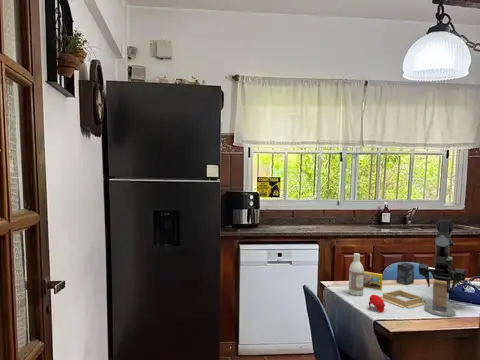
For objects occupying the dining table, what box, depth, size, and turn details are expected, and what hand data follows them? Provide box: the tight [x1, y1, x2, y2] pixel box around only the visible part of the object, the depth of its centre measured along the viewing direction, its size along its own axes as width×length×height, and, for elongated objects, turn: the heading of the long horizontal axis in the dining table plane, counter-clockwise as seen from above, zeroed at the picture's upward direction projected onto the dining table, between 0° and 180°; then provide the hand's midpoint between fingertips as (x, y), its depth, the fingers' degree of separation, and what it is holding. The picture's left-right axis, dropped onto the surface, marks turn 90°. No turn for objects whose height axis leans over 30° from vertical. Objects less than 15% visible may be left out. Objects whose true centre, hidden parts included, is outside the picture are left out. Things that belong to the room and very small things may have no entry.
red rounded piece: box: [368, 294, 386, 314], centre depth 157 cm, size 8×6×6 cm
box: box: [396, 262, 415, 286], centre depth 198 cm, size 8×6×11 cm
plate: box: [423, 303, 457, 318], centre depth 156 cm, size 12×12×1 cm
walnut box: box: [432, 279, 448, 312], centre depth 156 cm, size 5×5×12 cm
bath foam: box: [348, 252, 365, 297], centre depth 178 cm, size 7×7×20 cm
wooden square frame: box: [379, 289, 427, 309], centre depth 169 cm, size 16×16×2 cm
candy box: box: [363, 270, 384, 291], centre depth 189 cm, size 16×2×8 cm, turn 58°
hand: (440, 288), depth 161 cm, fingers open, 9 cm apart
